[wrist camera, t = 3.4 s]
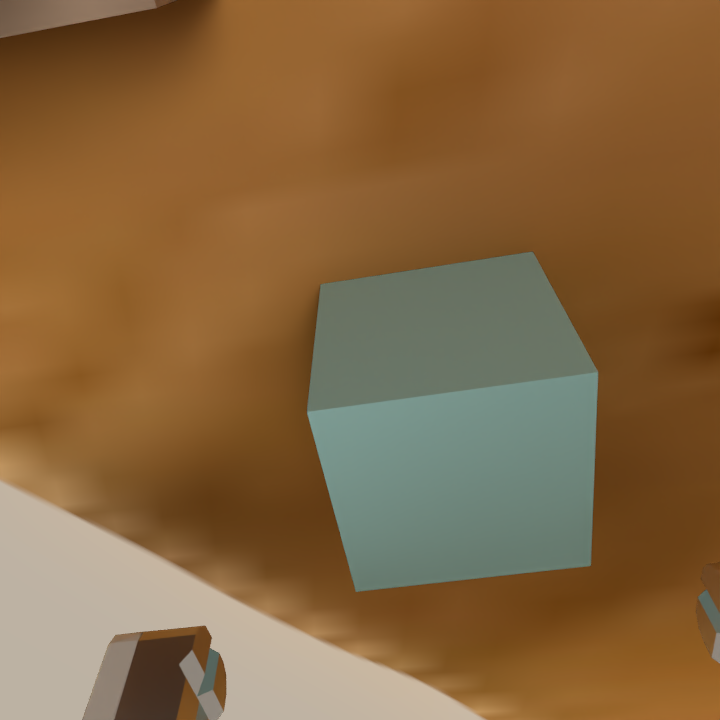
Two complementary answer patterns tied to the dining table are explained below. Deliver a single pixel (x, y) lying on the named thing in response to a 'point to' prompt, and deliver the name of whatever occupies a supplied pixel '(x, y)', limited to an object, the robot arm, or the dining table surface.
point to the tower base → (63, 12)
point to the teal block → (454, 423)
